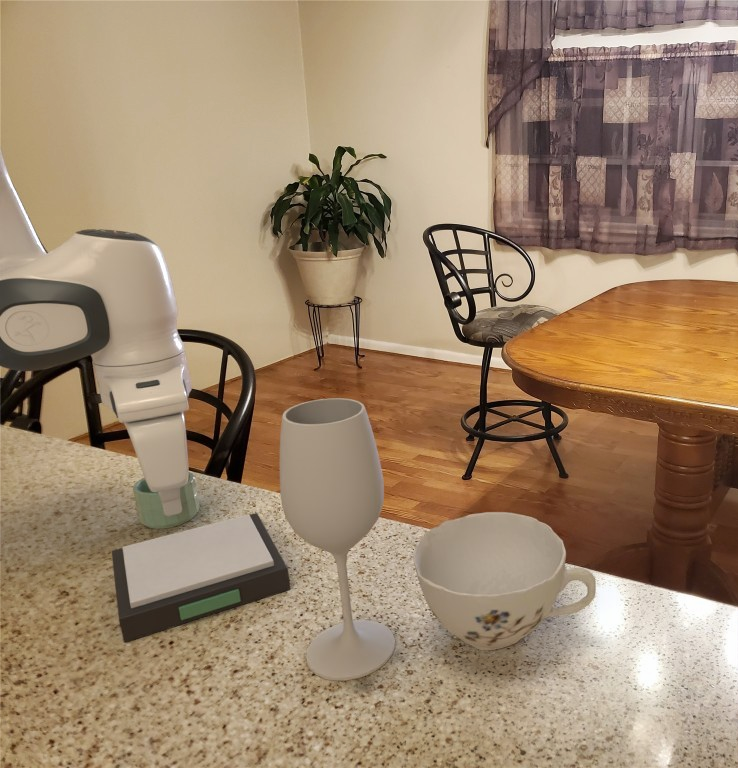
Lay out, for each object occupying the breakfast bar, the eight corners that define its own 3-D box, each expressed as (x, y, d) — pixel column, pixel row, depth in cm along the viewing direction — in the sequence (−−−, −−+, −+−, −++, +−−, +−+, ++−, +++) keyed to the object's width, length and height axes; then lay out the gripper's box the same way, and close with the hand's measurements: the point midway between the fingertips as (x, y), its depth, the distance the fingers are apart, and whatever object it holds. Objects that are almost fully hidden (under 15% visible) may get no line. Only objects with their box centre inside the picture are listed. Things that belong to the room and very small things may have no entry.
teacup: (396, 669, 54) (388, 582, 52) (445, 580, 66) (440, 505, 64) (585, 696, 51) (586, 604, 49) (601, 597, 63) (603, 519, 60)
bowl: (142, 536, 75) (134, 499, 74) (138, 513, 81) (130, 478, 79) (204, 520, 79) (197, 485, 77) (195, 499, 84) (189, 465, 82)
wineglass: (283, 668, 55) (246, 422, 48) (340, 613, 61) (314, 390, 55) (363, 692, 52) (335, 435, 46) (414, 632, 59) (395, 400, 52)
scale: (124, 645, 58) (117, 614, 57) (116, 571, 69) (110, 545, 68) (291, 591, 65) (287, 563, 64) (260, 532, 76) (256, 507, 75)
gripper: (108, 364, 81) (131, 471, 86) (116, 412, 65) (144, 542, 69) (166, 356, 84) (186, 459, 89) (189, 399, 68) (211, 524, 72)
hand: (168, 496), depth 79 cm, fingers open, 8 cm apart
